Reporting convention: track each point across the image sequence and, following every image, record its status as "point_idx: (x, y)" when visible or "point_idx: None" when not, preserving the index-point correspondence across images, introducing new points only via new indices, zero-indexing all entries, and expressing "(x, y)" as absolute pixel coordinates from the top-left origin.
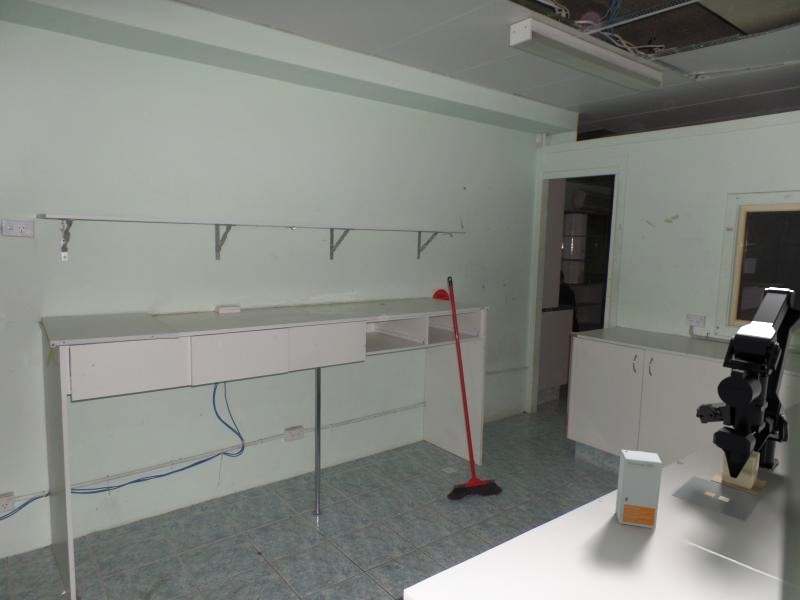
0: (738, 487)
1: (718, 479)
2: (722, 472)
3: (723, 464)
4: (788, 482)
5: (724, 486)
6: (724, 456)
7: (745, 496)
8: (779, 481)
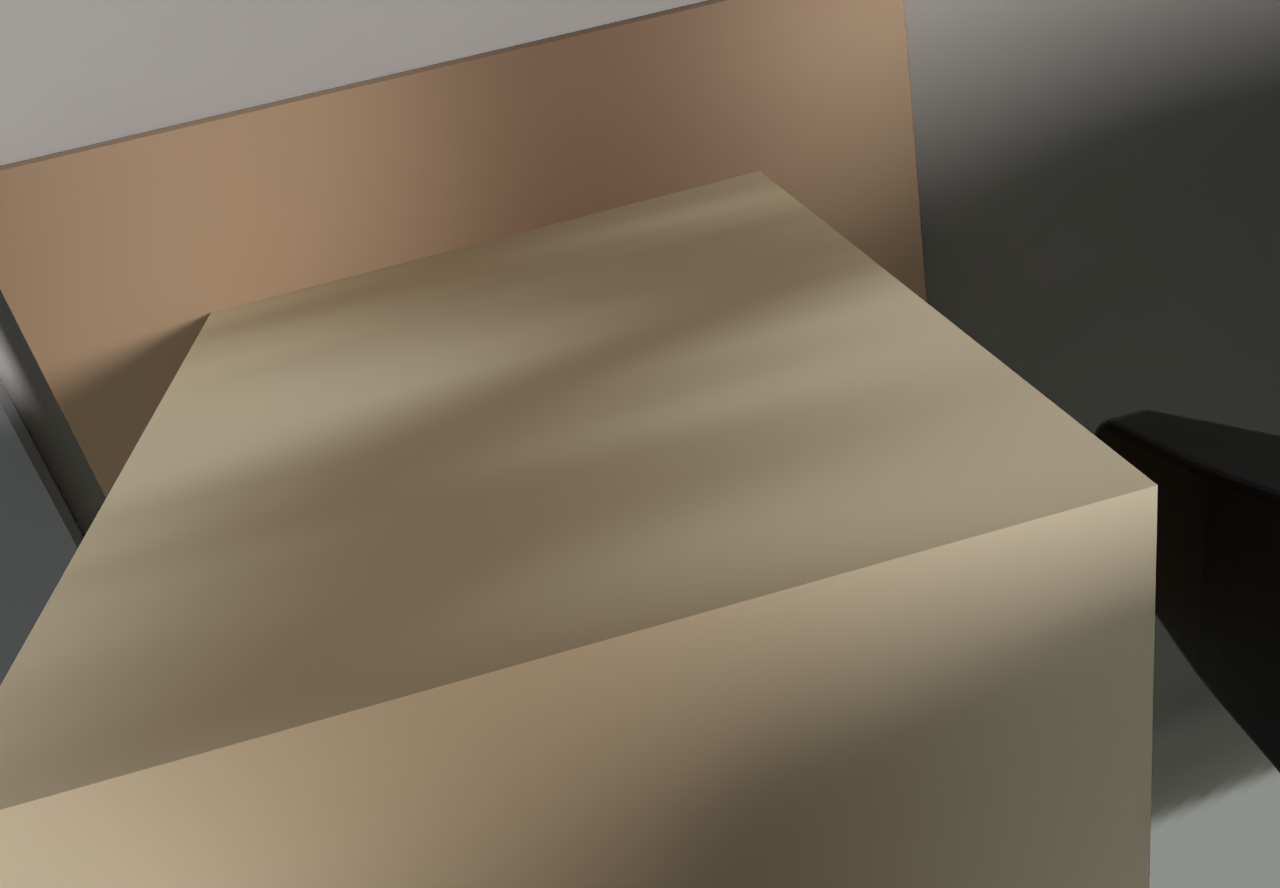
0: None
1: (170, 261)
2: (171, 388)
3: (101, 511)
4: (1217, 752)
5: (9, 489)
6: (12, 692)
7: None
8: (1159, 695)
